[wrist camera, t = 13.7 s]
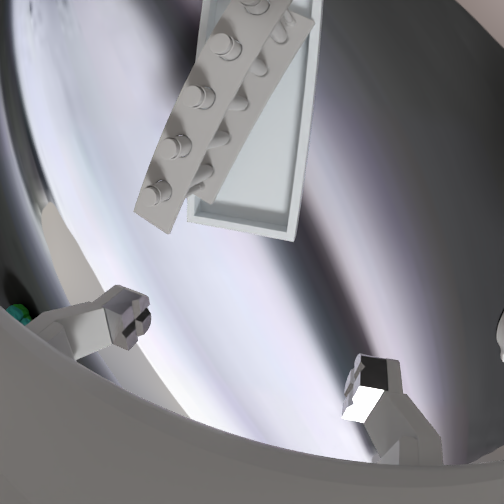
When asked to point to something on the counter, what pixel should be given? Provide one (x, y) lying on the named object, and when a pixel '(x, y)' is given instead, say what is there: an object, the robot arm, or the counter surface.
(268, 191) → the tray
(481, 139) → the counter surface
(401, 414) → the robot arm
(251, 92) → the test tube rack
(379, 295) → the counter surface
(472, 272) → the counter surface
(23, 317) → the brain model
